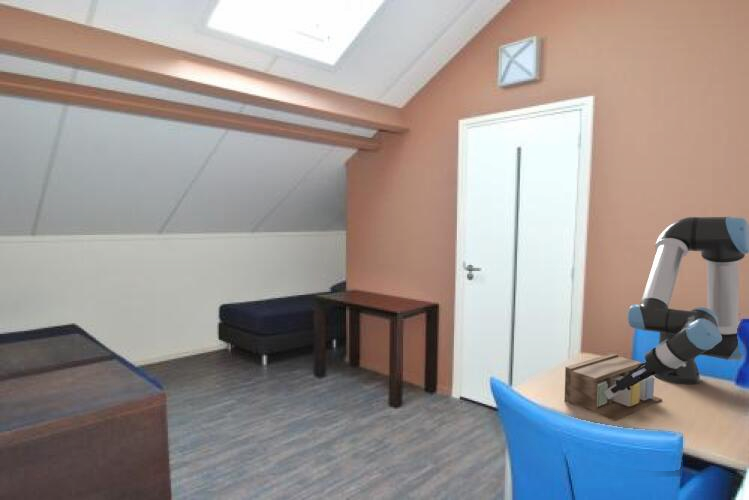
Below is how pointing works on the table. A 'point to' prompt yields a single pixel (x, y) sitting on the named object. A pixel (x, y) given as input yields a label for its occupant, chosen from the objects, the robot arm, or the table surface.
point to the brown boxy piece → (585, 381)
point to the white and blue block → (646, 388)
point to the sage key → (601, 392)
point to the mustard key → (627, 394)
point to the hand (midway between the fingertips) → (607, 395)
